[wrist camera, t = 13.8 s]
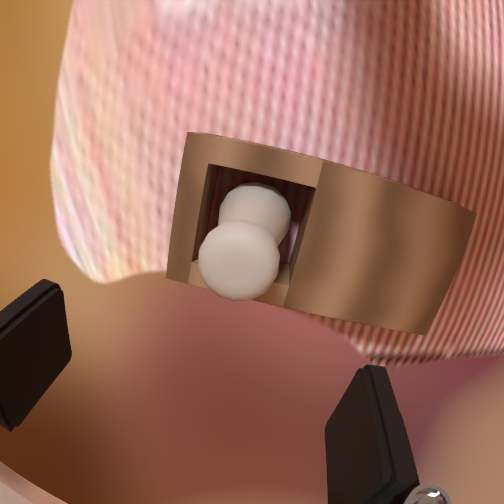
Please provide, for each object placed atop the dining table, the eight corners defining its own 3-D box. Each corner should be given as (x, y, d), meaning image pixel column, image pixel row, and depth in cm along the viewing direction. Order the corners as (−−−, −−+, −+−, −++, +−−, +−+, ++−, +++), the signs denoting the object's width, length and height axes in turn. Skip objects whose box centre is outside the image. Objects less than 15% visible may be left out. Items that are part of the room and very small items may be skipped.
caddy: (453, 202, 25) (476, 213, 21) (411, 311, 30) (425, 335, 25) (202, 132, 26) (187, 132, 22) (181, 258, 30) (165, 278, 26)
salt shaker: (211, 210, 28) (157, 267, 16) (255, 164, 26) (230, 186, 14) (258, 254, 29) (239, 337, 17) (304, 211, 27) (318, 271, 15)
